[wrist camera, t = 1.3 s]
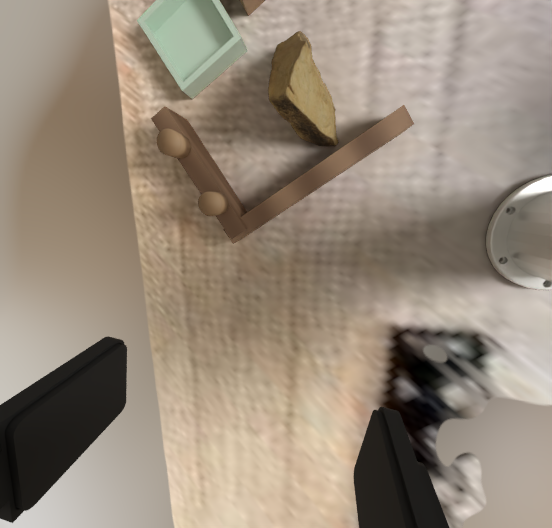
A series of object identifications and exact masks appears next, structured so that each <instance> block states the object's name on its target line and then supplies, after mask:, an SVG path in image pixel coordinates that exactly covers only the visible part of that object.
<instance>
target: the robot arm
mask: <svg viewBox="0 0 552 528" xmlns="http://www.w3.org/2000/svg"><path fill="white" fill-rule="evenodd" d="M506 210H507V212H506ZM486 248H487V253H488V257H489V259H490V261H491V263H492V265H493V266H494V268H495V269H496V270H497V271H498V273H500V274H501V275H502V276H503V277H505V278H506V279H508V280H510V281H511V282H513V283H515V284H518V285H521V286H523V287H526V288H531V289H535V290H552V175H548V176H544V177H541V178H538V179H535V180H532V181H530V182H528V183H527V184H525V185H523V186H521V187H519V188H518V189H517V190H515V191H514V192H513V193H512V194H510V195H509V196H508V197H507V198H506V199H505V200H504V201H503V202H502V203H501V204H500V206H499V207H498V209H497V210H496V212H495V213H494V215H493V217H492V219H491V221H490V224H489V226H488V231H487V235H486ZM499 259H500V260H499ZM126 364H127V347H126V345H124V342H123V341H122V340H120V339H115V338H112V337H105V338H103V339H102V340H100V341H99V342H97V343H95V344H94V345H92V346H91V347H89V348H88V349H86V350H85V351H83V352H82V353H80V354H79V355H77V356H75V357H74V358H72V359H71V360H69V361H68V362H66V363H65V364H63V365H61V366H60V367H58V368H57V369H55V370H54V371H52V372H51V373H49V374H48V375H46V376H44V377H43V378H41V379H40V380H38V381H37V382H35V383H34V384H32V385H31V386H29V387H28V388H26V389H24V390H23V391H21V392H20V393H18V394H17V395H15V396H14V397H12V398H11V399H9V400H8V401H6V402H4V403H3V404H1V405H0V518H1V519H3V520H6V521H9V522H12V523H13V522H14V521H15V520H16V519H17V517H18V516H20V514H21V513H22V512H23V511H24V510H28V509H30V508H31V507H33V506H34V505H35V504H36V503H37V502H38V501H39V500H40V499H41V498H42V496H43V495H44V494H45V493H46V492H47V491H48V490H49V489H50V488H51V487H52V486H53V484H55V483H56V481H57V480H58V479H59V478H60V477H61V476H62V475H63V474H64V473H65V472H66V470H68V469H69V468H70V466H71V465H72V464H73V463H74V462H75V461H76V460H77V459H78V457H80V456H81V454H82V453H84V451H85V450H86V449H87V448H88V447H89V446H90V445H91V444H92V443H93V442H94V441H95V440H96V439H97V437H98V436H99V435H100V434H101V433H102V432H103V431H104V430H105V429H106V428H107V427H108V426H109V425H110V424H111V422H112V421H113V420H114V419H115V418H116V417H117V416H118V415H119V414H120V413H121V412H122V410H123V409H124V407H125V404H126V372H127V365H126ZM354 486H355V495H356V504H357V512H358V521H359V528H449V526H448V523H447V520H446V518H445V515H444V513H443V510H442V507H441V505H440V502H439V500H438V497H437V495H436V492H435V489H434V487H433V484H432V482H431V479H430V476H429V474H428V471H427V469H426V467H425V466H424V465H423V464H422V463H420V462H417V460H416V457H415V454H414V451H413V449H412V446H411V443H410V440H409V437H408V435H407V432H406V429H405V426H404V424H403V421H402V418H401V415H400V413H399V412H398V411H396V410H392V409H388V408H384V407H380V408H379V410H378V411H377V410H374V411H373V413H372V415H371V419H370V422H369V425H368V428H367V431H366V434H365V437H364V440H363V443H362V446H361V449H360V452H359V456H358V459H357V462H356V465H355V468H354Z"/></svg>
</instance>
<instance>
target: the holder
mask: <svg viewBox="0 0 552 528" xmlns="http://www.w3.org/2000/svg"><path fill="white" fill-rule="evenodd" d="M239 1H240V2H241V4H242V6H243V7H244V9H245V11H246V13H247V14H248V16H249V15H250V14H251V13H252V12H253V11H254V10H255V9H256V8H258V7H259V6H260V5H261V4H262V3H263V2H264V1H265V0H239Z"/></svg>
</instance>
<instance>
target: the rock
mask: <svg viewBox="0 0 552 528" xmlns="http://www.w3.org/2000/svg"><path fill="white" fill-rule="evenodd" d="M271 64H272V70H271V74H270V79H269V87H268V94H269V101H270V102H271V104H272V105H273V106H274V108H275V109H276V110H277V112H278V113H279V114H280V115H281V116H282V117H283V118H284V119H285V120H287V121H288V122H289V123H291V126H292V127H293V129H294V130H295V132H296V133H297V134H298V136H299V137H300V138H301V139H303V140H306V141H308V142H311V143H314V144H317V145H321V146H330V145H333V146H336V145H337V144H338V139H337V137H336V125H335V108H334V105H333V102H332V97H331V95H330V93H329V91H328V89H327V87H326V85H325V84H324V83H323V81H322V79H321V75H320V72H319V71H318V69H317V67H316V66H315V63H314V61H313V59H312V52H311V44H310V42H309V40H308V38H307V37H306V36H305V35H304V34H303V33H302V32H301V31H299V32H296V33H295V34H294V35H293V36H291V37H290V38H289V39H287V40H286V41H284V42H281V43H280V44H278V45H277V47H276V51H275V53H274V57H273V59H272V62H271Z"/></svg>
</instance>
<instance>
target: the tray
mask: <svg viewBox="0 0 552 528" xmlns="http://www.w3.org/2000/svg"><path fill="white" fill-rule="evenodd" d="M137 21H138V23H139V24H140V26H141V28H142V29H143V31H144V32H145V34H146V35H147V37H148V39H149V40H150V42H151V43H152V45H153V46H154V48H155V49H156V51H157V53H158V54H159V56H160V57H161V59H162V60H163V62H164V63H165V65H166V67H167V68H168V70H169V71H170V73H171V74H172V76H173V77H174V79H175V81H176V82H177V84H178V85H179V87H180V88H181V90H182V91H183V92H184V93H185V94H187V95H188V96H189V97H190V98H192V99H193V98H194V97H196V96H197V95H198V94H199V93H200V92H201V91H202V90H203V89H205V88H206V87H207V86H208V85H209V84H210V83H211V82H213V81H214V80H215V79H216V78H217V77H218V76H219V75H221V74H222V73H223V72H224V71H225V70H226V69H227V68H229V67H230V66H231V65H232V64H233V63H234V62H235V61H236V60H238V59H239V58H240V57H241V56H242V55H243V54H244V53H246V52H247V51H248V50H247V48H246V46H245V44H244V42H243V39H242V37H241V36H240V34H239V32H238V31H237V29H236V27H235V26H234V24H233V22H232V21H231V19H230V17H229V16H228V14H227V12H226V10H225V9H224V7H223V5H222V4H221V2H220V0H156V1H155V2H154V3H153V4H152V5H151V6H150V7H149V8H148V9H147V10H146V11H145V12H144V13H143V15H142V16H141V17H140V18H139V19H138V20H137Z"/></svg>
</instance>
